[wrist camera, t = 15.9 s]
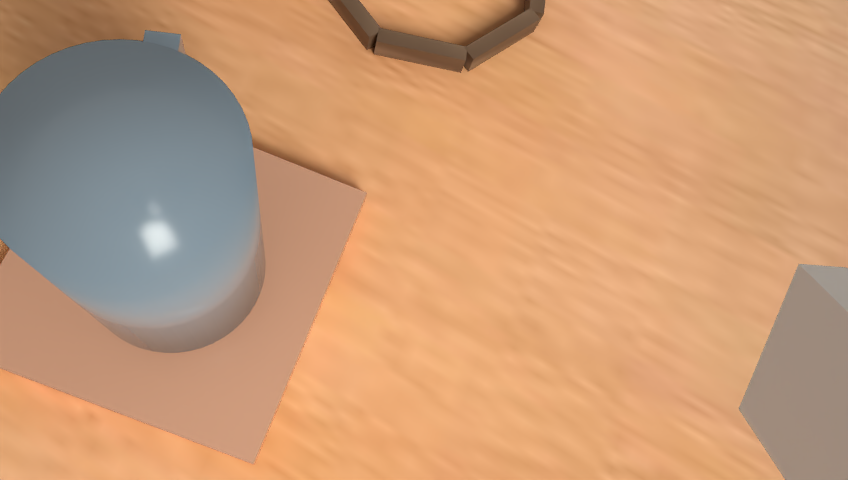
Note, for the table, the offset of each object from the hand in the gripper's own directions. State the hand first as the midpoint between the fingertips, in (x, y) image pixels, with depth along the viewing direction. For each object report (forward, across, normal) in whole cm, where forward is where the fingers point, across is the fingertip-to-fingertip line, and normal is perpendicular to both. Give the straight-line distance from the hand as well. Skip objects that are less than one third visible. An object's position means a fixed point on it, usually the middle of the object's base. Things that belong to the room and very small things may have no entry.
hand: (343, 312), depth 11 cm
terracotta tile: (+21, -7, -12) cm, 25 cm away
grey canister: (+21, -7, -11) cm, 25 cm away
